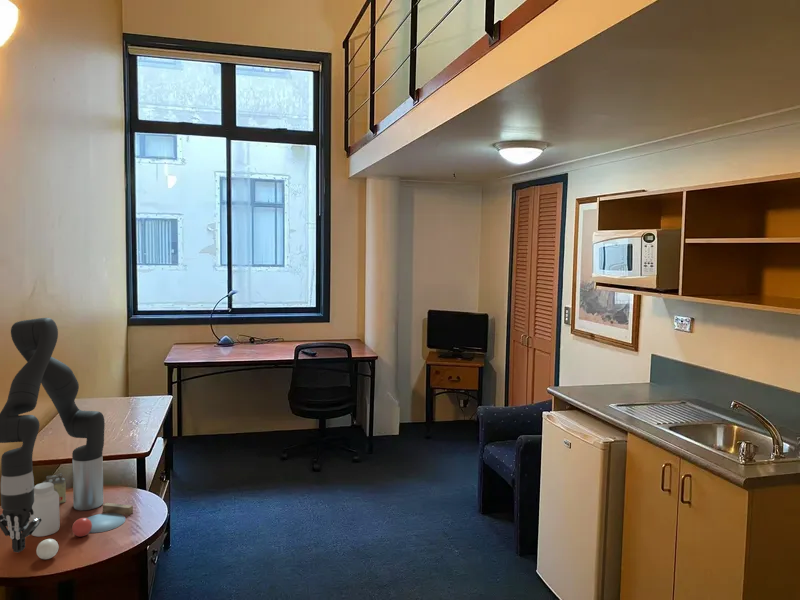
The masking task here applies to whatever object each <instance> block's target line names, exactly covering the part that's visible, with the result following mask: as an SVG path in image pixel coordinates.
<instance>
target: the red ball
mask: <svg viewBox="0 0 800 600" xmlns="http://www.w3.org/2000/svg"><path fill="white" fill-rule="evenodd" d="M87 518H88V517H79V518H78V519H76V520H75V521H74V523H72V526H71V531H72V534H74V536H76V537H80V538H81V537H85V536H87V535H88V534H90V533H89V532H90V531H91V529H92V523H91V521H90V520H89V519H87Z"/></svg>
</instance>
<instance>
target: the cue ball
mask: <svg viewBox="0 0 800 600" xmlns="http://www.w3.org/2000/svg"><path fill="white" fill-rule="evenodd" d="M59 547H60V546H59V544H58V541H56V539H53V538H47V539H44V540H42V541H40V542H39V543H38V544H37V546H36V555H37V557H38V558H39V559H41V560H50V559H52V558H54V557H55V556H56V555H57V554H58V551H59Z"/></svg>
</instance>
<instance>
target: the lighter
mask: <svg viewBox="0 0 800 600" xmlns="http://www.w3.org/2000/svg"><path fill="white" fill-rule="evenodd" d="M45 478H46V480H44V481H42V483H45V482H51V483H53V484H54V491H56V492H57V493H58V494H59V504H63V503H65V502H66V501H67V499H66V498H67V496H66V478H64V477H63V473H62V472H61V473H58V474H55V475H53V474H52V475H47V476H45Z"/></svg>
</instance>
